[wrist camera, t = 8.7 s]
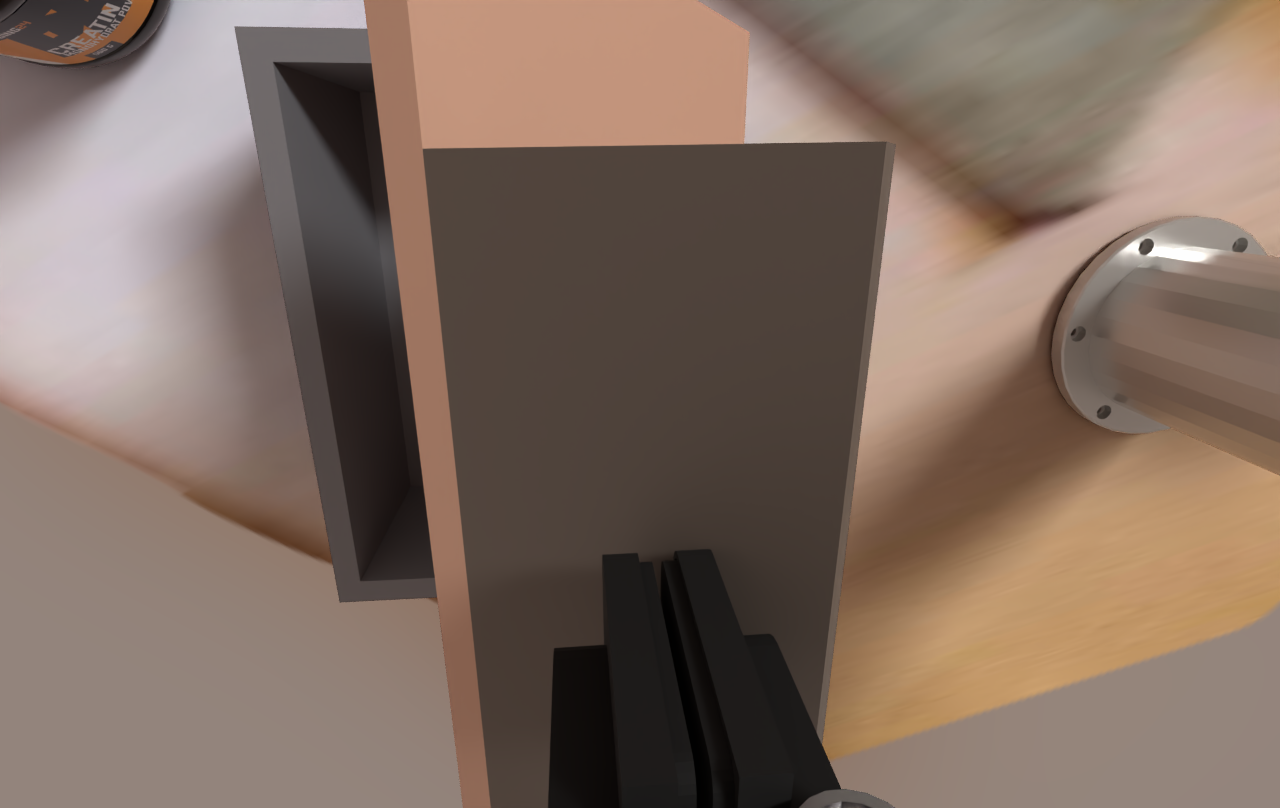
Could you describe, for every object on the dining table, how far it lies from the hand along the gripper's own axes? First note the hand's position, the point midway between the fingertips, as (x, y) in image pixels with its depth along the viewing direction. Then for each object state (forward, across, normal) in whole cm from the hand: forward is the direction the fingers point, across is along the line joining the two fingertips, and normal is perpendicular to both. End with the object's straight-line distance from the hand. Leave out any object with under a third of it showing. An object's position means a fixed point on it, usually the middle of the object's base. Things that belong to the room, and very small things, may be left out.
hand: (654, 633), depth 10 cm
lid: (+10, 0, 0) cm, 10 cm away
